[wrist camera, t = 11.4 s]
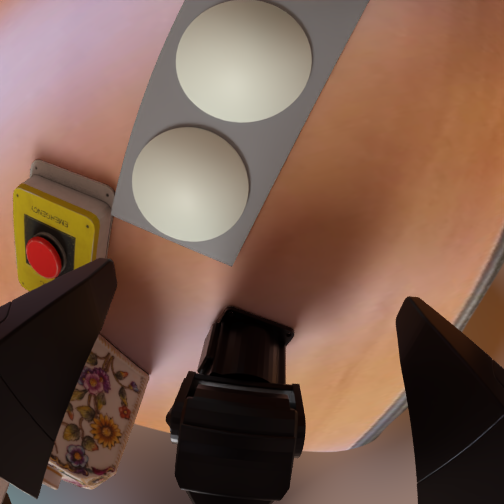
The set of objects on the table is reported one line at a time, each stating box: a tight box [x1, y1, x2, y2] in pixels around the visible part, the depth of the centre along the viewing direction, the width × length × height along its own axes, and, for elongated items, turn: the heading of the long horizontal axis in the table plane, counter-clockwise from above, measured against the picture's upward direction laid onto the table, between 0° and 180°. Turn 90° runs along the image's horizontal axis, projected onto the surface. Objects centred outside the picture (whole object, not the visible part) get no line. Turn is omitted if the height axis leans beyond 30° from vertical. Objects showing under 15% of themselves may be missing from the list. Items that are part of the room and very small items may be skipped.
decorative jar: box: [42, 334, 149, 490], centre depth 25 cm, size 12×12×18 cm
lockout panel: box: [111, 0, 369, 266], centre depth 16 cm, size 10×27×1 cm, turn 156°
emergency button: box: [13, 160, 115, 291], centre depth 23 cm, size 9×4×15 cm
